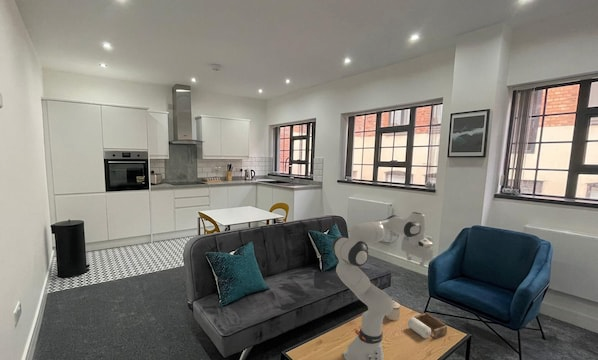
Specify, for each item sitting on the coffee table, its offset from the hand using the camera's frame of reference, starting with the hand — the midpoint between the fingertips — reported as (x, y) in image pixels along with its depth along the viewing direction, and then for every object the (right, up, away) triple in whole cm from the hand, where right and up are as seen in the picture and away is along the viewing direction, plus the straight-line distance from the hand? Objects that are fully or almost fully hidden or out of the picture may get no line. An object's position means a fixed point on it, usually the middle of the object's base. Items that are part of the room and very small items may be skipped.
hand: (415, 262), depth 166 cm
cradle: (+16, -47, +16) cm, 52 cm away
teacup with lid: (-4, -46, +29) cm, 54 cm away
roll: (+7, -44, +11) cm, 46 cm away
